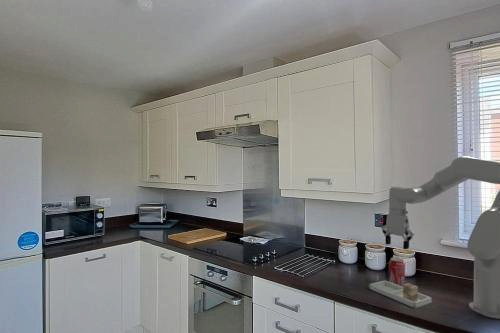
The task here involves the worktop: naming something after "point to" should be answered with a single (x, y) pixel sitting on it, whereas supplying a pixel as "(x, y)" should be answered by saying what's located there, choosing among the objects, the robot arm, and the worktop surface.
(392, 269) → the soda can
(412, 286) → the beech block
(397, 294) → the organiser tray
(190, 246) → the worktop surface
